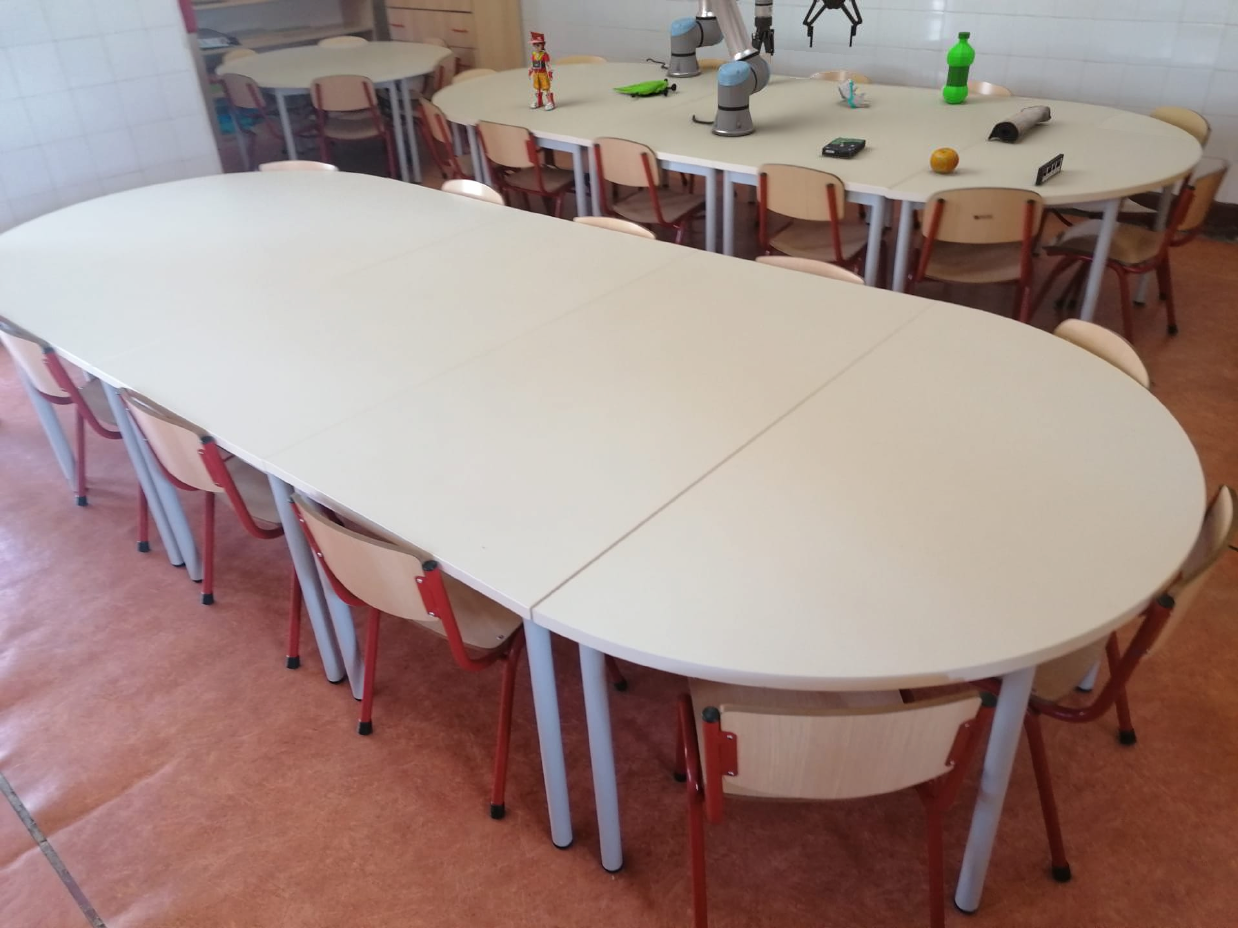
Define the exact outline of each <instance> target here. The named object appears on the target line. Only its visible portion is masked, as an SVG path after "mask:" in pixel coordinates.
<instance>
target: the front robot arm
mask: <svg viewBox="0 0 1238 928" xmlns="http://www.w3.org/2000/svg"><path fill="white" fill-rule="evenodd" d="M710 1H711V4H712V7H713V9H714V12H715V15H716V18H717V20H718V23H719V26H720V29H721V31H722V34H723V37H724V38H723V40H724V42H725V46H726V48H727V50H728V53H729V56H730V59H729V62H726V63H723V64H722V65H720V67H719V68H718V70H717V71H718V72H717V74H718V75H717V111H716V114H715V118H714V120H712V121H706V120H698V119H695V118H696V114H693V115H692V121H693V122H695V123H697V124H704V125H712V133H713V134H715V135H717V136H721V137H741V136H746V135H750V134H752V133H754V127H755V126H754V122H753V118H752V115H751V111H750V96H752V95H754V94H757V93H759V92H761V91H762V90H763V89H764V88H765V87H766V86H767V85H768V83H769V81H770V79H771V66H770V67H769V64H768V63H767V61H766V60H764V59H763V58H761V57H760V54H759V51H758V50H757V49H755V48H753V47H752V44H751V43H752V40H751V39H750V36H749V33H748V30H747V27H746V25H745V22H744V19H743V16H742V14H741V11H740V8H739V5H738V2H737V1H736V0H710ZM820 1H822V3H823V4H822V6H821V7H820V8H819V10H818V11H817V12H816V13H815V15H814V16H813V17H812V18H811V15H812V13H813V11H814V9H815V8H816V6H817V3H819V2H820ZM846 1H847V0H812V4H811V5H810V6H809V7H810V8H809V9H808V11H807V13H806V15H805V17H804V19H803V21H802V25H803V26H806V27H807V29H806V30H807V32H806V36H807V37H808V38H809V48H813V41H814V40H813V39H814V25H813V24H814V23H815V22H816V21H817V19H819V17H820V16H821V15H822V14H823V12H824V11H825V10H826V9H828V10H840V9H841V11H842V12H843V13H844V15H845V16H846V17H847V19H848V20H849V22H850V23H851V25H850V35H849V48H852V47H853V37H856V35H857V28H858V26H859V25H863V18H862V15H861V12H860V9H859V7H858V4H857V1H856V0H848V1H849V2H851V6H852V8H853V11H854V13H855V16H856V18H855V17H854V16H853V15H852V13H851V12H850V10H849V9H848V8H847V6H846V4H845V2H846ZM810 18H811V19H810ZM809 19H810V20H809ZM856 19H857V20H856ZM808 20H809V21H808Z"/></svg>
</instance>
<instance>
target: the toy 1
mask: <svg viewBox="0 0 1238 928" xmlns="http://www.w3.org/2000/svg"><path fill="white" fill-rule="evenodd" d="M529 33H530V35H531V36H528V37H527V38H528V39H529V40H528V41H527V43H529V44H530V43H531V44H532V48H533V50H534V51H533V52H532V55H531V58H530V59H531V63H530V66H528V74H527V75H528V76H527V77H528V79H529V80H531V75H532V74H533V84H532V85H533V86H532V87H533V88H534V89H535V90H536V92H534V95H535V97H536V100H535V101H533V102H531V105H530V108H531V109H535V108H538V107H542V106H544V101H543V100H544V99H543V95H544V92H546V94H545V97H546V99H547V103H546V104H545V106H544V110H546V111H549V110H553V109H554V107H555V106H556V105H555V99H554V92H551V91H550V90H551V86H552V84H551V82H552V81H553V80H554V77H553V73H554V71H555V70H554V69H552V68H551V63H550V61H551V59H550V58H551V57H550V54H549V53H548V52H547V50H546V48H545V46H546V44H547V41H545V35H544V33H543V32H542V33H539V32H535V31H529Z"/></svg>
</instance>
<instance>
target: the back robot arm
mask: <svg viewBox="0 0 1238 928" xmlns="http://www.w3.org/2000/svg"><path fill="white" fill-rule="evenodd" d="M737 1H739V0H736V2H737ZM773 7H774V0H754V16H755V17H754V23H753V24H754V27H755V28H756V29H755V32H753V33H751V44H752V47H753V48H755V49H757V50H758V51H759V54H760V53H761V50H762V46H764V53H770V54H771V57H773V56H774V54H775V28H771V27H772V26H773V16H772V15H773V11H774V9H773ZM669 34H670V60H669V62H668V66H665V65H666V63H665V62H663V61H657V60H654V59H653V58H651V57H650V58H646V62H648V61H651V62H653V63H655V64H662V65H661V66H660V67H661V68H662V69H665V70H667V72H666V73H667V76H668V77H671V78H691V77H696V76H699V75H700V74H701V68H700V66H699V64H700V63H699V61H698V58H697V49H699V48H706V47H713V46H717V45H719V44H720V43H722V41H723V40H724V37H723V34H722V31H721V29H720V26H719V23H718V20H717V18H716V15H715V12H714V9H713V7H712V4H711V1H710V0H698V11H697V13H696V14H695V17H683V18H679V19H675V20H673V22H672V23H671V25H670V32H669ZM771 62H772V61H771ZM771 62H770V64H771Z"/></svg>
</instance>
